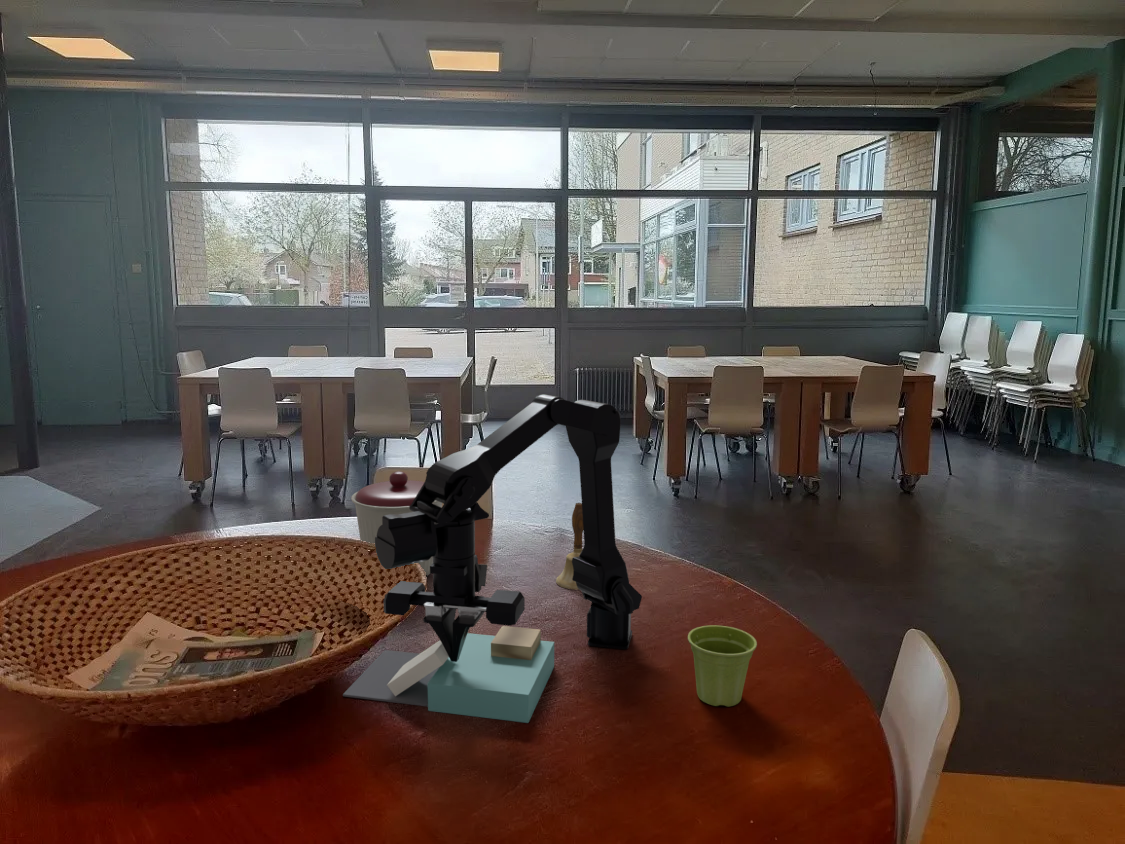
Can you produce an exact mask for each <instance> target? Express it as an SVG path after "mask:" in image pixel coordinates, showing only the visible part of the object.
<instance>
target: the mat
mask: <svg viewBox="0 0 1125 844" xmlns="http://www.w3.org/2000/svg"><path fill="white" fill-rule="evenodd" d="M419 654H420V653H417V652H410V651H409V652H406V651H398V650H388V649H384V650H383V651H382V652H381V654H379V656H378V657H377V658H376V659H375V660H374V661H373V662H372V663H371V664H370V665H369V666H368V667H367V668H366V669H365V670H364V672H363V673H362V674H361V675H360V676H358V678H357V679H356V680H355V681H354V682H353V683H352V684H351V685H350V686H349V687H348V688H347V690H345V691H344V693H343V694H342V696H343V697H346V698H354V699H362V700H363V699H364V700H372V701H379V702H388V703H397V704H402V705H403V704H405V705H411V706H412V705H414V706H421V707H428V682H429V681H430V679H431V678H432V677H433V675H434V674H435V673H436V671H437V670H438V669H439V668H440V667H438V668H437V669H435V670H434V671H432V672H431V673H429V674H428V675H426V676H425V677H423V678H422V679H421V680H419V681H418V682H416V683H415V684H413V685H412V686H410V687H409V688H407V689H406V690H404V691H403V692H401V693H400V694H398V695H397V696H395V695H394V694H393V693H392V691H391V690H390V689H389V687H388V686H387V684H388V683H389V682H390V680H391V679H392V678H393V677H394V676H395V675H396V673H397V672H398V671H399V670H400V669H401V667H402V666H403V665H404V664H406V663H407V662H409V661H410V660H412V659H413V658H414V657H416V656H417V655H419Z"/></svg>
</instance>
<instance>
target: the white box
mask: <svg viewBox="0 0 1125 844" xmlns="http://www.w3.org/2000/svg"><path fill="white" fill-rule="evenodd" d="M448 657H449V656H448V654H447V652H446V650H445V648H444V646H443V644H442V642H441V641H440V639H439V640H438V641H436V642H435V643H433V644H432V645H431V646H429V647H428V648H427V649H425V650H424V651H422V652H420V653H419V655H417V656H416V657H414V658H413V659H412V660H410V661H409V662H407V663H406V664H404V665H403V666H402V667H401V669H400V670H399V671H398V672H397V673H396V675H395V676H394V677H393V678H392V679H391V680H390V682H389V683H388V684H387V686H388V687H389V689H390V690H391V691H392V693H393V694H394V695H395V696H397V695H398V694H400V693H401V692H403V691H404V690H406V689H407V688H409V687H410V686H412V685H413V684H415V683H416V682H418V681H419V680H421V679H422V678H423V677H425V676H426V675H428V674H429V673H431V672H432V671H434V670H435V669H437V668H438V667H440V666H441V665H443V664H444V663H445V661H446V660H447V658H448Z"/></svg>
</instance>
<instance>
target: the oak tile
mask: <svg viewBox="0 0 1125 844" xmlns="http://www.w3.org/2000/svg"><path fill="white" fill-rule="evenodd" d="M541 631H542V629H538V628H530V627H529V628H528V627H517V626H508V625H501V628H499V630H498V632H497V633H496V634H495V635H494V636H495V637H494V639H493V640H492V642H491V656H496V657H506V658H515V659H525V660H531V659H532V658H533V656H534V654H535V652H536V650H537V648H538V646H539V644H540V642H541V641H542V639H541V638H542V635H541V634H542V632H541Z"/></svg>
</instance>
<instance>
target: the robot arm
mask: <svg viewBox="0 0 1125 844" xmlns="http://www.w3.org/2000/svg"><path fill="white" fill-rule="evenodd" d="M621 423H622V420H621V414H620V412H619V410H618V409H617V408H615V406H614V405H611V404H609V403H604V402H597V401H593V400H588V399H578V400H576V401H574V402H573V401H570V400H566V399H564V398H563V397H560V396H556V395H550V394H539V395H536V396H535V397H534V399H533V400H532V402H531V403H530V404H528V405H527V406H526V407H525V408H523V409H522V410H520V411H519V412H518V413H517V414H515V415H514V416H512V417H511V418H510V419H509V420H507V421H506V422H505V423H503V424H502V425H501V426H500V427H498V428H497V429H495V430H494V431H493V432H492V433H490V434H489V435H488V436H486V437H485V438H484V439H482V440H481V441H480V442H478V443H477V444H475V445H473V446H471V447H469V448H467V449H462V450H460V451H456V452H453V453H451V454H449V455H447V456H446V457H443V458H442V459H439V460H437V461H436V462H434V463H433V464H432V465H431V466H430V467H428V469H427V471H426V476H425V481H423V482H424V484H423V486H422V487H421V489H420V491H419V492H418V494H417V496H416V497H415V499H414V500H413V502H412V504H411V505H410V507H409V509H410V510H411V511H413V512H410V513H404V514H398V515H395V514H390V515H384V516H383V517H382V525H381V526H380V527H379V528H378V531H377V537H375V547H376V553H377V556H378V559H379V561H380V563H381V565H382V566H383V567H384V568H385V569H392V568H396V567H401V566H405V565H410V564H414V563H419V562H423V561H427V560H429V559H430V558H431V557H433V564H432V565H430V574H432V580H433V581H432V585H433V586H432V587H433V588H432V590H433V592H430V591H426V586H425V584H424V583H423V582H417V581H413V582H406V581H400V582H399V583H396V585H395V586H394V587H392V588H391V589H390V590H389V591H388V592H387V593H386V594H385V595H384V597H383V613H385V614H386V615H395V616H405V615H406V614H407V613H408V612H409V611H410V610H411V606H418V607H424V608H425V615H424V617H423V623H424V624H429V625H430V627H431V628H432V630H433V631H434V632H435V634H436V635H437V637H438V639H439V640H440V641H441V642H442V644H443V646H444V648H445V650H446V652H447V654H448V656H449V658H450V660H451V661H452V662H457V661H458V659H459V657H460V654H461V651H462V648H463V645H464V642H465V639H466V636H467V633H469V631H470V628H473V627H475V626H476V625H477V624H478V622H479V621H480V619H481V618H482V617H483V616H484V614H485V619H486V620H487V621H488V622H489V623H490V624H491V625H498V626H499V625H501V626H510V627H512V626H514V625H516V624H517V623H518V621H519V619H520V617H521V616H522V614H523V613H524V611H525V604H526V603H525V596H524V594H523V593H522V592H521V591H518V590H509V589H508V590H506V589H495V591H494V592H493V594H492V596H490V597H486V596H485V595H484V596H482V595H476V593H480V591H481V590H482V587H486V584H487V583H486V582H487V571H488V564H482V563H478V562H479V559H478V555H477V554H476V529H475V528H476V522H475V521H480V520H481V521H482V520H485V519H488V518H489V517H490V514H489V513H488V512H487V511H486V510H485V509H483V508H482V506H480V504H479V501H480V499H482V497H483V496H484V495H485V494H486V493H487V491H488V490H490V489H491V486H492V485H493V481H494V479H495V477H496V476H497V474H498V473H499V472H500V471H501V470H502V469H503V468H504V467H506V466H507V465H508V464H509V463H511V462H512V461H513V460H514V459H516V458H517V457H518V456H520V455H521V454H522V453H524V452H525V451H526V450H527V449H529V447H531V446H532V445H533V444H534V443H536V442H537V441H538V440H540V439H541V438H542V437H544V435H546V434H548V432H549V431H551V430H552V429H553V428H555V427H556V426H558V425H561V426H564V427H565V429H566V435H567V438H568V443H570V446H571V447H572V450H573V451H574V453H575V455H576V456H577V458H578V463H579V464H578V465H579V479H580V481H579V482H580V498H581V503H582V514H583V547H582V551H581V553H580V555H579V557H573V558H572V565H573V570H574V571H573V578H572V580H573V581H575V582H576V585H577V587H578V589H580V590H579V591H581V594H582V598H583V599H584V600H586V601H589V602H591V604H590V607H589V609H588V611H587V613H586V637H587V638H588V641H587V645H588V646H590V647H597V648H598V647H599V648H609V649H619V650H628V649H629V648H630V647H629V646H630V643H631V639H632V636H633V630H632V629H631V627H632V626H631V622H632V614H633V613H634V611H636V610H639V608H640V606H641V602H642V598H643V596H642V594H641V593H640V592H638V591H637V589H635V587H634V586H633V585H632V584H630V580H629V579H630V578H629V574H628V573H629V572H628V569H627V563H626V561H625V560H624V558H623V556H622V554H621V552H620V550H619V549H618V546H617V544H616V543H617V542H616V529H615V525H616V524H615V513H614V512H615V511H614V509H615V508H614V494H613V493H614V491H613V474H612V473H613V471H612V457H613V455H614V453H615V451H616V449H617V447H618V445H619V444H620V436H621V426H622V425H621ZM435 500H436V501H439V502H441V503H442V508H441V507H439V506H437V505H434V504H432V503H433V502H434V501H435ZM456 611H457V613H458V615H457V616H456Z"/></svg>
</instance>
